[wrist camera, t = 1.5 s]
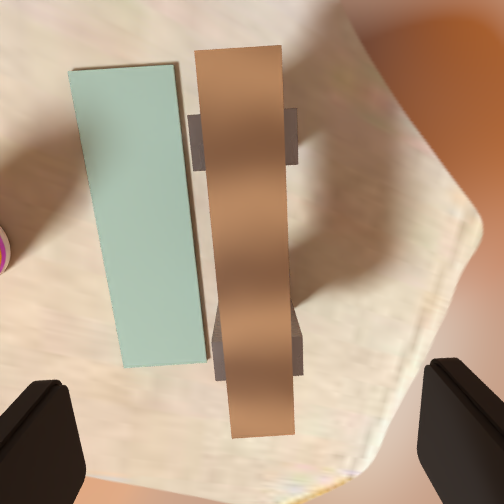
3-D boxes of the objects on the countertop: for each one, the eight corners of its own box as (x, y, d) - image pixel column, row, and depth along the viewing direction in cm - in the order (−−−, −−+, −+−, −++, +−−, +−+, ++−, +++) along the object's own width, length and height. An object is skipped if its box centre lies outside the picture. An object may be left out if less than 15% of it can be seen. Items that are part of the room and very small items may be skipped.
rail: (203, 69, 20) (194, 50, 16) (274, 64, 20) (281, 45, 16) (233, 396, 26) (231, 438, 22) (287, 392, 26) (294, 434, 22)
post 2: (220, 287, 32) (211, 342, 23) (286, 283, 32) (302, 336, 23) (223, 317, 33) (215, 381, 24) (287, 313, 33) (303, 375, 24)
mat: (70, 72, 27) (67, 71, 27) (173, 65, 27) (172, 64, 27) (125, 365, 34) (123, 368, 34) (207, 360, 34) (206, 362, 34)
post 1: (205, 126, 28) (187, 115, 19) (280, 121, 28) (296, 108, 19) (209, 164, 29) (193, 171, 20) (281, 159, 29) (298, 164, 20)
